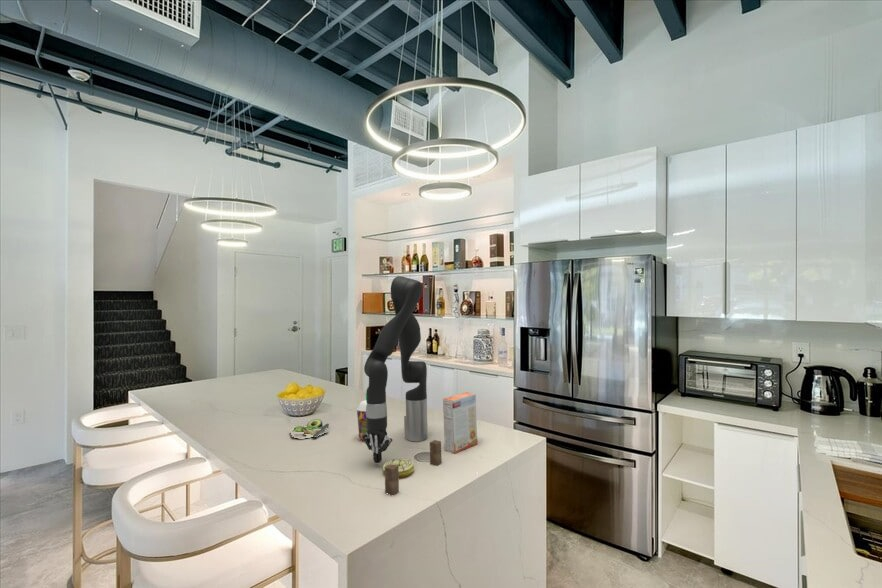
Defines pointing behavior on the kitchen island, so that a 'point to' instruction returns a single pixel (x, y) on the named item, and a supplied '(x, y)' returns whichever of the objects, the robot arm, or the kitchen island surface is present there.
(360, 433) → the smoothie
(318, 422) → the salad plate
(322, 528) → the kitchen island surface
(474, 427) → the cracker box
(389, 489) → the posts
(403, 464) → the decorated donut
